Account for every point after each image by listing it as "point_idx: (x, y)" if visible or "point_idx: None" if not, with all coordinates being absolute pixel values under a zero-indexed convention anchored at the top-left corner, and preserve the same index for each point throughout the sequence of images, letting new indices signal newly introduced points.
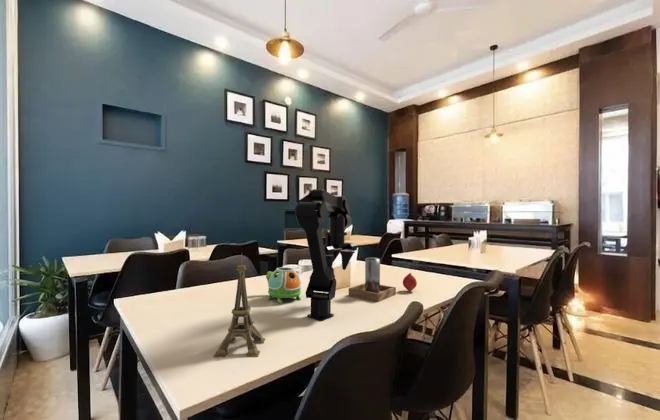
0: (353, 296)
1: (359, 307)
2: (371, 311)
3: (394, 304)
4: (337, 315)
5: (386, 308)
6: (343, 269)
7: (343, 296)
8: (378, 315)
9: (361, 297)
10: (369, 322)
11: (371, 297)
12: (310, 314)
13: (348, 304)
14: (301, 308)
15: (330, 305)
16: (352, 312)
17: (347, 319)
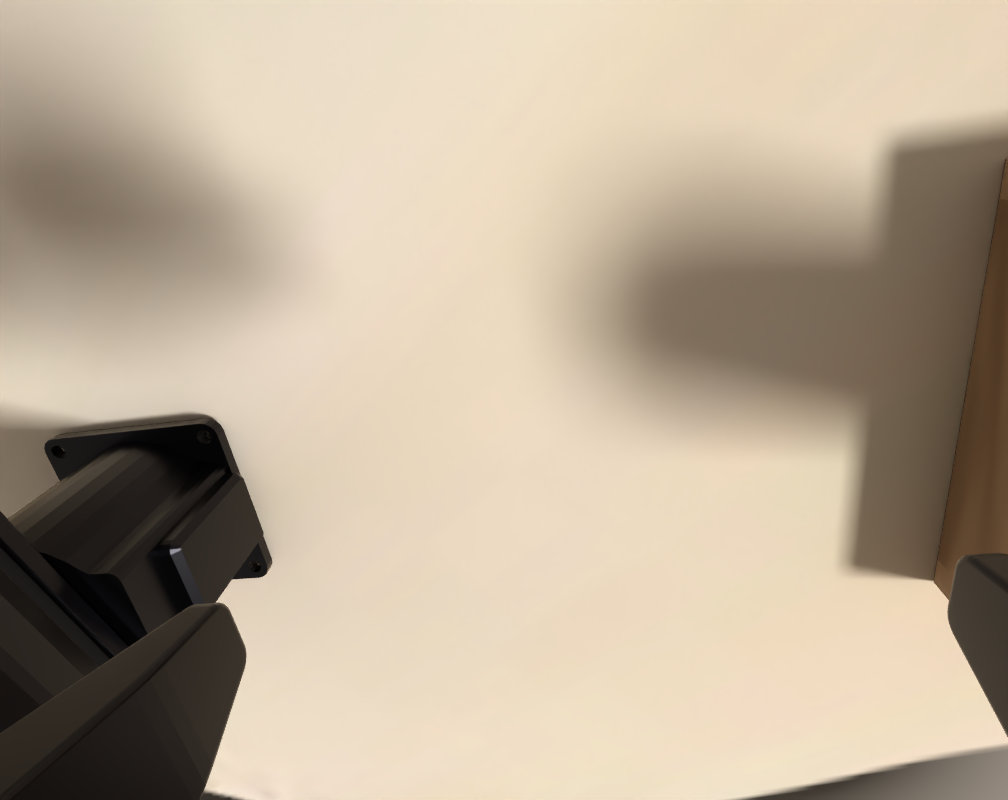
0: (992, 251)
1: (631, 561)
2: (611, 677)
3: (942, 703)
4: (311, 569)
5: (774, 711)
6: (952, 587)
7: (916, 134)
8: (568, 747)
9: (974, 385)
10: (405, 770)
11: (969, 527)
12: (80, 452)
13: (634, 434)
14: (107, 185)
15: (228, 582)
16: (468, 600)
17: (319, 663)
